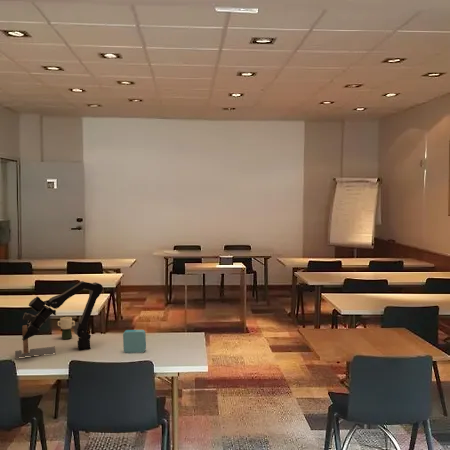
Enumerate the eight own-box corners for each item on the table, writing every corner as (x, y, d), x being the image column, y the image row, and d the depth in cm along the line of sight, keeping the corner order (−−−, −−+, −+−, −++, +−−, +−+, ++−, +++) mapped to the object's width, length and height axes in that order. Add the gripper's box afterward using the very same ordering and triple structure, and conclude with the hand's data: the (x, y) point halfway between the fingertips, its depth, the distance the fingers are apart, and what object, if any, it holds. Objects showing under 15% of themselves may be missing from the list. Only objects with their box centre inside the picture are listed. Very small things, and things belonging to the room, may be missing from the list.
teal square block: (146, 350, 309) (145, 329, 308) (144, 352, 304) (144, 331, 303) (125, 350, 309) (124, 329, 308) (123, 353, 304) (122, 331, 304)
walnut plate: (28, 349, 304) (27, 324, 304) (28, 352, 298) (27, 327, 297) (23, 350, 304) (22, 325, 303) (23, 353, 297) (22, 328, 296)
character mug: (77, 337, 342) (76, 316, 342) (73, 340, 335) (72, 319, 334) (60, 337, 343) (59, 317, 342) (56, 340, 336) (55, 319, 335)
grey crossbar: (55, 353, 307) (54, 346, 307) (55, 354, 305) (55, 347, 305) (15, 357, 300) (15, 350, 300) (15, 359, 298) (15, 352, 298)
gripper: (31, 304, 309) (11, 325, 306) (31, 310, 292) (10, 333, 289) (46, 316, 313) (27, 337, 309) (47, 323, 295) (27, 345, 292)
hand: (22, 338), depth 300 cm, fingers closed on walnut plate, 7 cm apart
